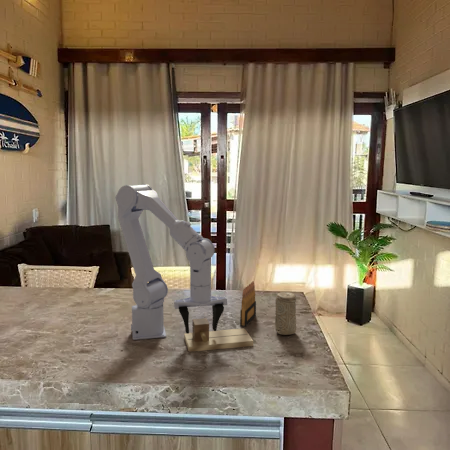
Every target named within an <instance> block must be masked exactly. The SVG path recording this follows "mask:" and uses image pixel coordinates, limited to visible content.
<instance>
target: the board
mask: <svg viewBox="0 0 450 450" xmlns="http://www.w3.org/2000/svg"><path fill="white" fill-rule="evenodd" d="M245 328H246V327H244V328H231V329H220V330H216V331H214V330H209V341H207V342H206V343H204V342H203V341H202V342H195V341H194V339H193V336H192V332H189V333H188V334H187V333H186V332H185V333H183V334H184V336H183V339H184V342H185V345H186V348H187V351H188V352H189V353H191V352H193V353H194V352H203V351H214V350H224V349H232V348H233V349H234V348H244V347H253V346H254V340H253V339H252V337H251V335H250V334H249V333H248V331H247V330H246V329H245Z"/></svg>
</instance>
